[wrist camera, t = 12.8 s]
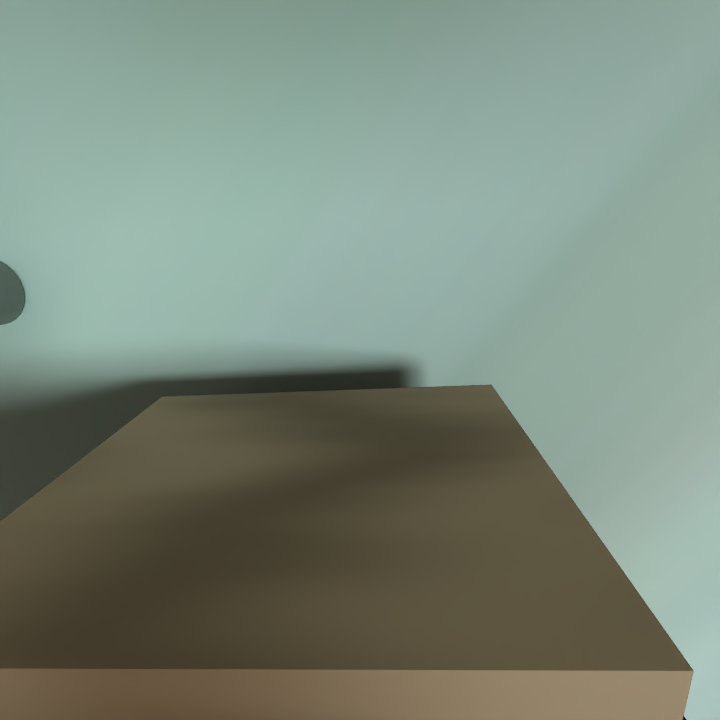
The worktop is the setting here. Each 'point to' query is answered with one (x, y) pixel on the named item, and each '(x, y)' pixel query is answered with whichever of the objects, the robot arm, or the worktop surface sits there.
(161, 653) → the seat block
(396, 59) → the worktop surface
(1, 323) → the rail
